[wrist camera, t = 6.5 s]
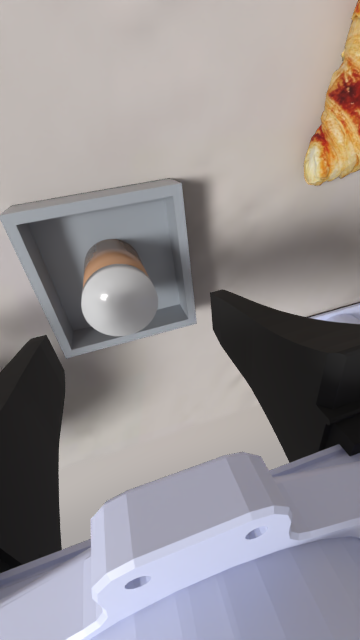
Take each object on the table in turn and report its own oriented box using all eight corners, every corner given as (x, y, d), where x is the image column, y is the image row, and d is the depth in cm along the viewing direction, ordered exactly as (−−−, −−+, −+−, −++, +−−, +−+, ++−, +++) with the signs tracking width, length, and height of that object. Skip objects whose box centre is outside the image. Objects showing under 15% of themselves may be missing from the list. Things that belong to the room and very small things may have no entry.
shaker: (145, 286, 21) (162, 327, 16) (92, 297, 21) (93, 343, 16) (136, 233, 19) (152, 262, 14) (75, 243, 18) (70, 278, 14)
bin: (185, 305, 24) (196, 323, 22) (68, 335, 22) (65, 358, 20) (169, 178, 18) (181, 183, 16) (11, 205, 17) (-2, 215, 14)
